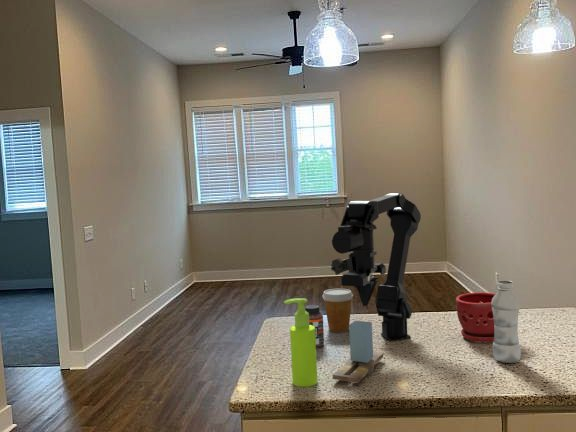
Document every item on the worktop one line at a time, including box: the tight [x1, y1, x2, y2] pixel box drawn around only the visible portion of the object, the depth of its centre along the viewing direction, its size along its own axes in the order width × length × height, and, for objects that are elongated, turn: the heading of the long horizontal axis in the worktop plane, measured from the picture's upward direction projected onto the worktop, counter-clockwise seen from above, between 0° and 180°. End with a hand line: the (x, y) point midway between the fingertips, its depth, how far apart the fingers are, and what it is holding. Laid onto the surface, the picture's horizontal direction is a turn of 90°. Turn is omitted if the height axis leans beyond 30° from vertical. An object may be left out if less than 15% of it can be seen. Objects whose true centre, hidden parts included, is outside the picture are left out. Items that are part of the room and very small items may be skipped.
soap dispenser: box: [283, 297, 318, 388], centre depth 122 cm, size 6×7×20 cm
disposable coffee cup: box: [321, 288, 354, 333], centre depth 163 cm, size 10×10×12 cm
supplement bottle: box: [305, 304, 325, 349], centre depth 149 cm, size 6×6×11 cm
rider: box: [348, 320, 374, 366], centre depth 129 cm, size 4×4×10 cm
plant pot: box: [455, 292, 496, 344], centre depth 147 cm, size 13×13×12 cm
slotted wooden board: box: [332, 351, 384, 384], centre depth 128 cm, size 18×6×2 cm, turn 151°
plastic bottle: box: [491, 280, 522, 364], centre depth 129 cm, size 6×7×20 cm
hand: (365, 305), depth 139 cm, fingers closed
